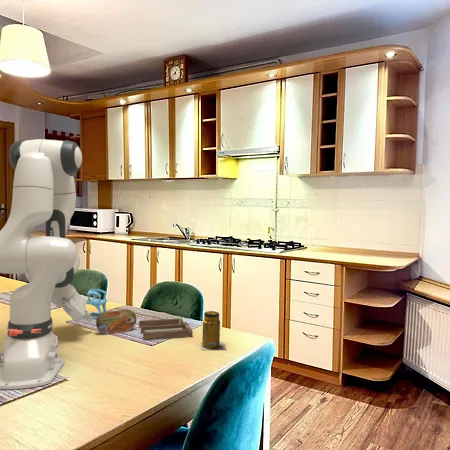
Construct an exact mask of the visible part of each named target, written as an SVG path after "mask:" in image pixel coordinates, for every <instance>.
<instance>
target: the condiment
mask: <svg viewBox="0 0 450 450" xmlns="http://www.w3.org/2000/svg"><path fill="white" fill-rule="evenodd" d="M220 336H221V320H220V313H219V312H218V311H215V310H209V311H206V312H204V313H203V320H202V342H200V347H201V350H202V351H203V350H204V351H214V350H216V351H218V350H227V348H226V342H220Z"/></svg>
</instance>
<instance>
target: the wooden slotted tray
mask: <svg viewBox="0 0 450 450" xmlns="http://www.w3.org/2000/svg"><path fill="white" fill-rule="evenodd" d="M138 328H139V329H140V334H141V335H142V336H143V337H142V340H143V341H151V340H150V339H156V340H170V339H182V338H183V339H184V338H193V335H194V334H193V333H194V331H193V329H192V327H191V326H190V325H189V324H188V320H187V319H186V318H185V317H180V318H165V319H144V320H138ZM142 333H143V334H142Z"/></svg>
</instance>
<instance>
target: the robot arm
mask: <svg viewBox="0 0 450 450" xmlns="http://www.w3.org/2000/svg"><path fill="white" fill-rule="evenodd" d="M8 159H9V163H10V165H11V167H12V168H13V169H14V171H15V172H14V176H13V182H12V183H13V184H12V199H11V207H10V213H9V216H8V219H7V221H6V223H5V224H4V226H3V227H2V228H1V229H0V274H7V275H8V274H13V275H14V274H15V275H16V274H19V275H20V274H22V275H23V274H24V275H25V278H26V280H27V281H28V283H26V284H25V283H24V284H23V285H21V286H20V287H17V288H15V290H14V291H13V292H11V294H10V297H9V320H8V322H7V323H8V324H7V336H6V337H5V338H4V339H3V355H1V356H0V390H19V389H20V390H21V389H27V388H28V389H30V388H36V387H41V386H45V385H47V384H48V385H49V384H51V383H52V382H53V380H54V379H55V377H56V376H57V374H58V373H59V371H60V370H61V369H62V368H63V366H64V365H65V360H64V358H60V357H59V348H58V347H59V346H58V344H59V343H58V342H59V341H58V340H59V339H58V336H57V335H56V334H55V333H54V332H53V324H54V323H53V317H52V316H51V315H52V314H51V313H52V312H51V311H52V304H53V305H54V306H55V307H56V308H60V307H62V309H63V310H64V312H65V313H66V314H67V315H68V316H69V317H70V318H71V319H73V321H75V322H76V323H79V322H81V320H85V321H86V322H88V323H92V322H93V320H94V319H93V317H94V316H93V315H90V313H89V311H88V310H87V309H86V308H87V307H86V306H87V304H86V302H87V301H86V300H85V299H84V297H82V296H81V295H80V293H78V291H77V288H75V286H74V285H72V284H71V283H72V281H73V280H74V276H75V275H76V273H77V271H78V269H79V267H80V264H81V263H80V262H81V260H80V256H79V255H78V250H77V247H76V245H75V243H74V242H73V241H72V240H71V239H69V238H67V232H68V227H69V223H70V221H71V219H72V217H73V215H74V213H75V210H76V204H77V203H76V202H77V194H76V193H77V191H76V183H75V178H74V175H75V173H78V172H79V170H80V169H81V166H82V163H83V154H82V150H81V148H80V146H79V145H78V144H77V142H74V141H71V140H57V139H46V138H39V139H37V138H36V139H29V140H27V139H21V140H20V139H19V140H17V141H14V142H13V143H12V144H11V146H9V150H8ZM44 223H45V236H43V235H42V236H40V235H39V236H38V235H35V236H34V235H31V233H32V232H33V231H32V230H33V229H34V228H35V227H38V226H39V225H43V224H44Z"/></svg>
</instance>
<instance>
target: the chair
mask: <svg viewBox="0 0 450 450" xmlns="http://www.w3.org/2000/svg"><path fill="white" fill-rule="evenodd" d="M100 293H102V294H103V299H101V298H102V294H100ZM107 293H108V292H107V291H105V290H103V289H100V288H91V289H89V290H88V292H87V295H86V296H87V299H88V300H87V301H85V302H86V305H90V306H93V307H94V308H96V310H97V312H94V311H93V312H90V313H89V314H90V315H91V316H92V317H93V320H97V317H98V316H99V315H100V314H101V313H103V312H106V311H107V307H106V306H107V305H106V303H108V299H107V298H106V296H107ZM91 296H93V298H91ZM96 297H98V298H96ZM101 307H102V309H101Z"/></svg>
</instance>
